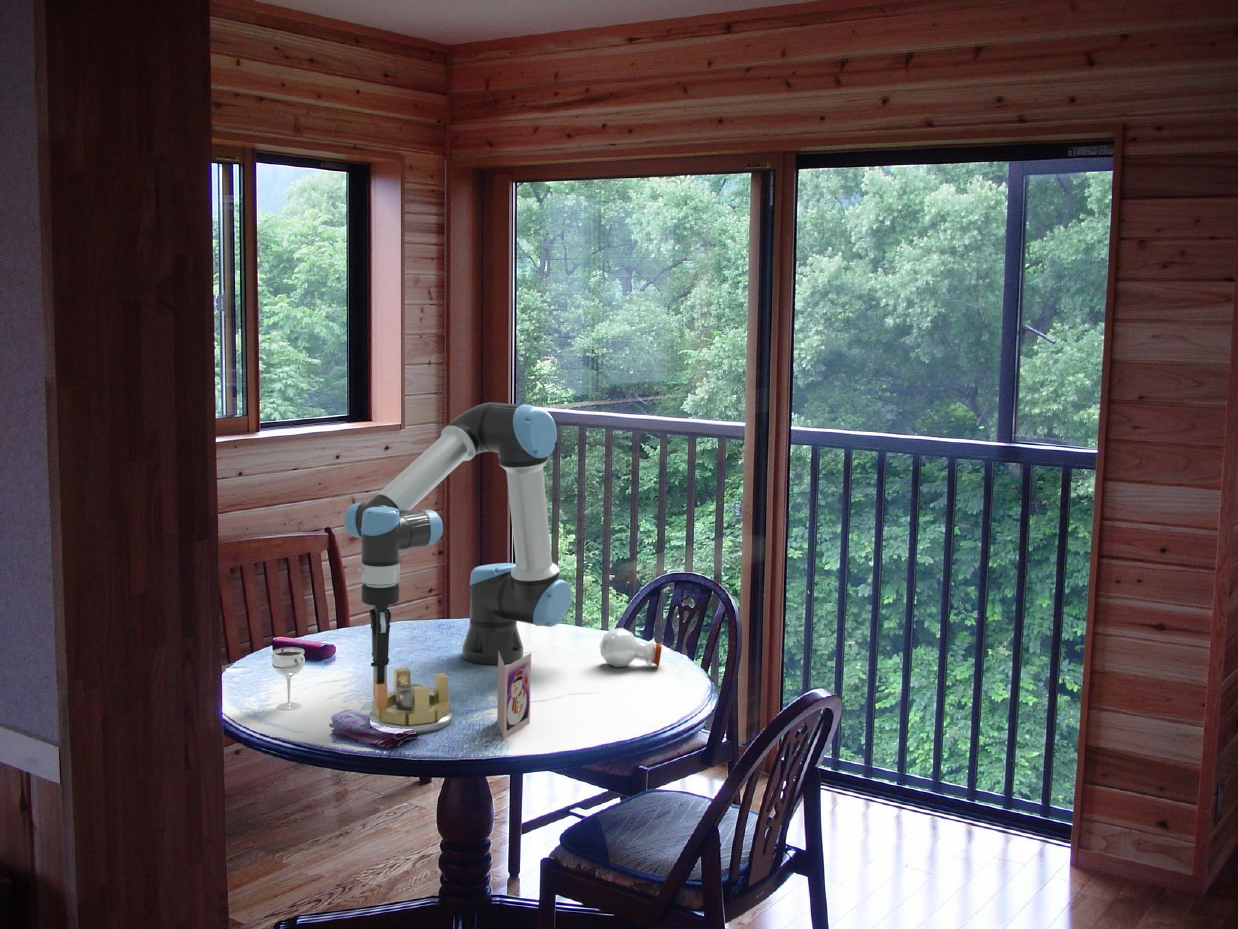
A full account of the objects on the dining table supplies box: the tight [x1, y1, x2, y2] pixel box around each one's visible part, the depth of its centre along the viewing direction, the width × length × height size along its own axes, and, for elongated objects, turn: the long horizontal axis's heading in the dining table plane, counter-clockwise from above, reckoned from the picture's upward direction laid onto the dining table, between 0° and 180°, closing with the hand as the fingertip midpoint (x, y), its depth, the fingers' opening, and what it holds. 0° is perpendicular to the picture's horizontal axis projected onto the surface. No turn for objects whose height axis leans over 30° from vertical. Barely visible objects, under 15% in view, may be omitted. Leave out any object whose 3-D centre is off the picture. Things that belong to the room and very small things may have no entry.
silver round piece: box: [368, 683, 453, 735], centre depth 248 cm, size 17×17×7 cm
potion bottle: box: [599, 627, 663, 668], centre depth 292 cm, size 9×10×15 cm
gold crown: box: [371, 667, 451, 725], centre depth 248 cm, size 15×15×7 cm
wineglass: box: [271, 647, 306, 711], centre depth 255 cm, size 7×7×12 cm
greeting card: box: [496, 651, 532, 740], centre depth 245 cm, size 11×7×15 cm, turn 157°
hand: (379, 694), depth 247 cm, fingers closed
